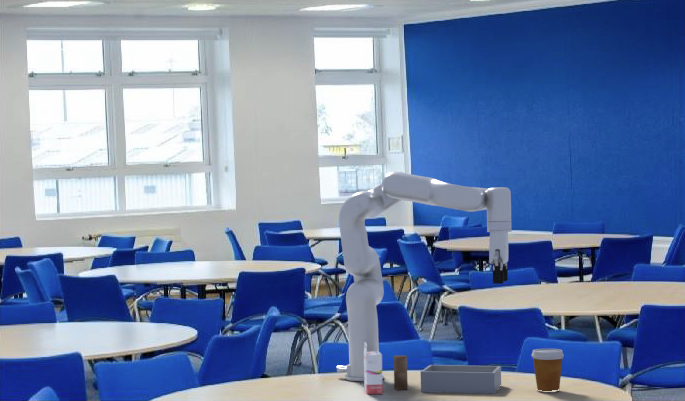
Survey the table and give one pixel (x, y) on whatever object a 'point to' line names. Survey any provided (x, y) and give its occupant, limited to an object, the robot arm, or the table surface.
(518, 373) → the table surface
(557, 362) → the disposable coffee cup
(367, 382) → the ink cartridge box
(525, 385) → the table surface
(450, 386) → the box
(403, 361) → the peg
